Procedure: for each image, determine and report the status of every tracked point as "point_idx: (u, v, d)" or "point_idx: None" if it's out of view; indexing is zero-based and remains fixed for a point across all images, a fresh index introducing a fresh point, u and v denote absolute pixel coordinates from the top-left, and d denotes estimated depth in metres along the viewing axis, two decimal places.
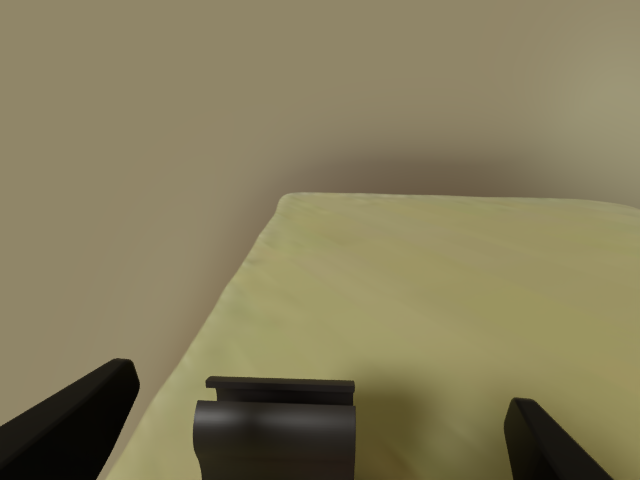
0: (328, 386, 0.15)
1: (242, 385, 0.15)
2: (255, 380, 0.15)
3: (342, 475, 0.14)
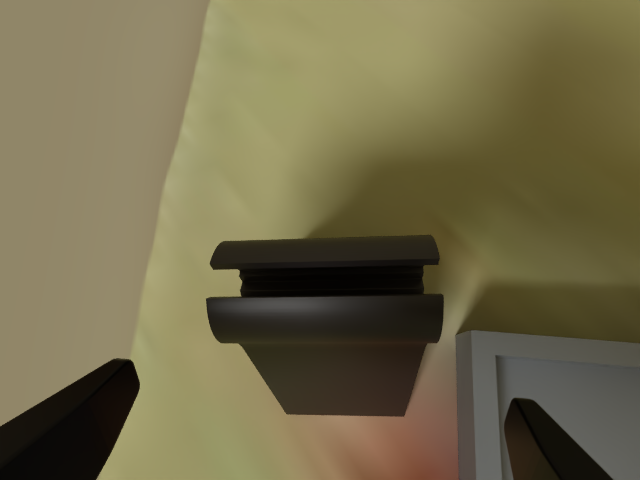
0: (398, 261, 0.09)
1: (265, 265, 0.10)
2: (283, 256, 0.10)
3: (413, 342, 0.11)
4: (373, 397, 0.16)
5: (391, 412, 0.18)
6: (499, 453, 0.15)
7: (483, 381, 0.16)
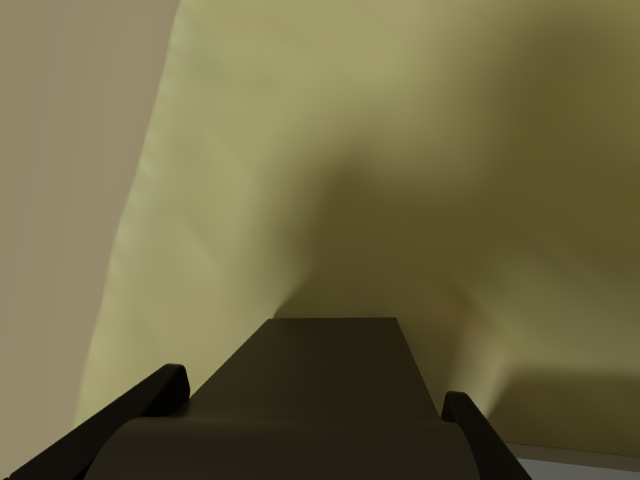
0: None
1: None
2: None
3: None
4: None
5: None
6: None
7: None
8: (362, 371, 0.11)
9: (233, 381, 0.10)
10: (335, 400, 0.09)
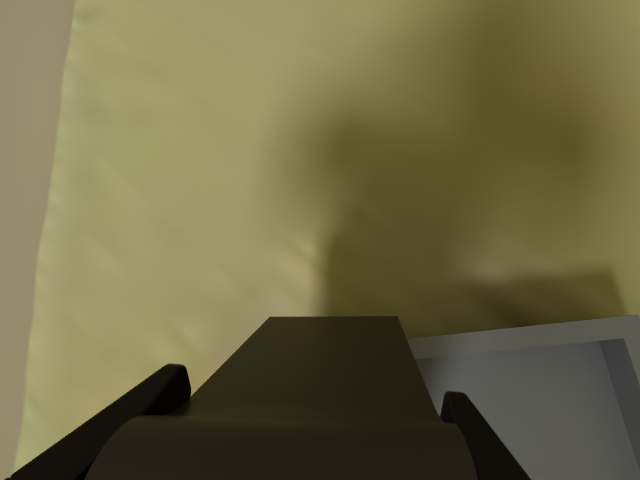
0: None
1: None
2: None
3: None
4: None
5: None
6: None
7: None
8: (362, 371, 0.11)
9: (235, 379, 0.10)
10: (335, 399, 0.09)
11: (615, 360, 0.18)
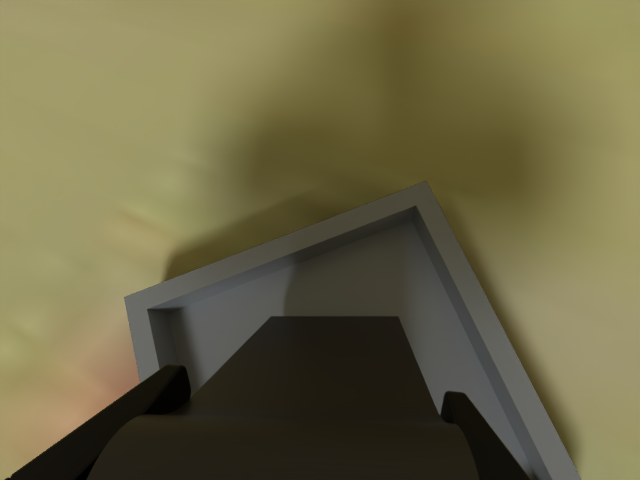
0: None
1: None
2: None
3: None
4: None
5: None
6: None
7: (140, 336, 0.18)
8: (364, 370, 0.11)
9: (236, 379, 0.10)
10: (337, 399, 0.09)
11: (421, 231, 0.19)
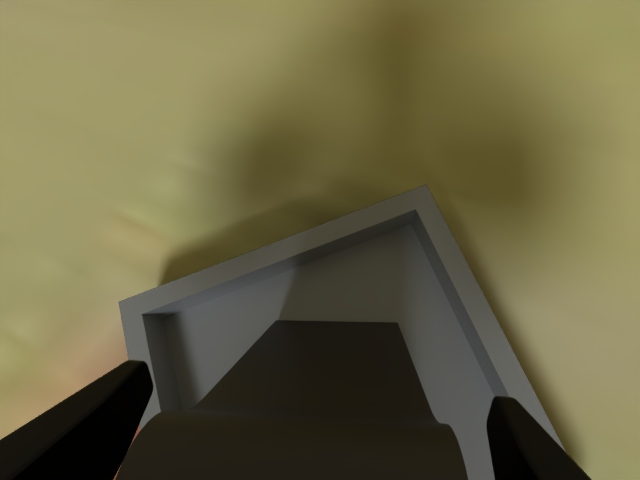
0: None
1: None
2: None
3: None
4: None
5: None
6: (157, 398, 0.17)
7: (135, 342, 0.17)
8: (364, 374, 0.12)
9: (246, 379, 0.11)
10: (340, 400, 0.10)
11: (421, 235, 0.19)
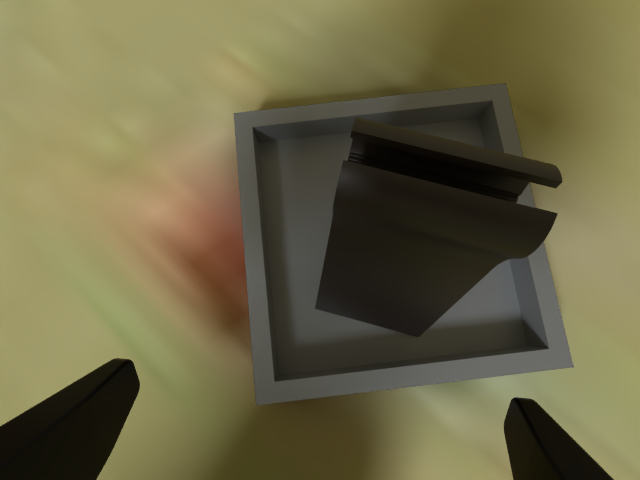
0: (523, 174, 0.10)
1: (401, 146, 0.11)
2: (420, 142, 0.11)
3: (491, 258, 0.13)
4: (408, 309, 0.18)
5: (410, 330, 0.20)
6: (257, 192, 0.21)
7: (244, 146, 0.21)
8: None
9: None
10: None
11: (487, 126, 0.23)
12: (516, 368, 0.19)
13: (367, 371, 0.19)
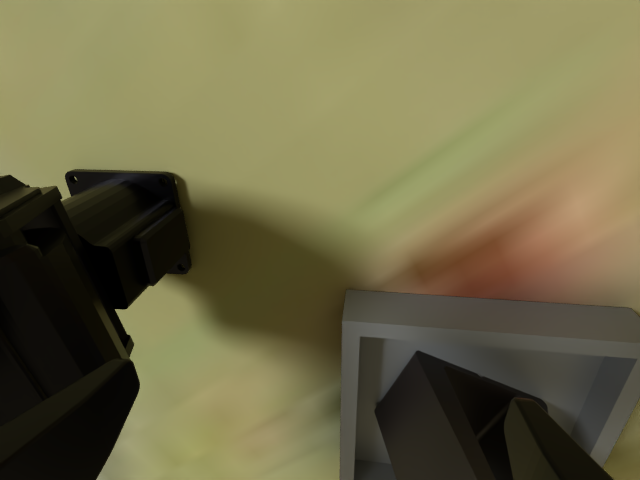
0: None
1: None
2: None
3: None
4: (401, 447, 0.22)
5: (382, 416, 0.25)
6: (554, 351, 0.19)
7: (616, 348, 0.19)
8: None
9: None
10: None
11: None
12: (343, 469, 0.26)
13: (356, 395, 0.23)
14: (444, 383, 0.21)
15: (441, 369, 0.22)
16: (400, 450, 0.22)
